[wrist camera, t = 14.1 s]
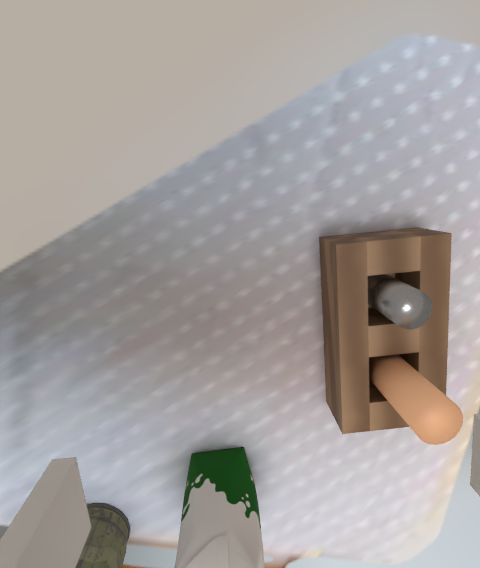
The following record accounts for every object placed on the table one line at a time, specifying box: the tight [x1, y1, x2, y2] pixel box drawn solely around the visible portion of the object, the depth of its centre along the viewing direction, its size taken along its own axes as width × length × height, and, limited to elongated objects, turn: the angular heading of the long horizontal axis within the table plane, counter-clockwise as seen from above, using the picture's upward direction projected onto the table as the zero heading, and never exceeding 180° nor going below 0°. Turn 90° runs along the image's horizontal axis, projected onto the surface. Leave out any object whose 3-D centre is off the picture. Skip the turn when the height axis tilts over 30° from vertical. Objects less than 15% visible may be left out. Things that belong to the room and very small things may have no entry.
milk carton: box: [175, 447, 264, 568], centre depth 43 cm, size 9×9×20 cm
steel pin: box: [368, 274, 432, 330], centre depth 42 cm, size 4×4×10 cm
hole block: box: [319, 228, 451, 434], centre depth 45 cm, size 12×22×7 cm, turn 5°
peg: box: [369, 354, 463, 444], centre depth 41 cm, size 4×4×15 cm
